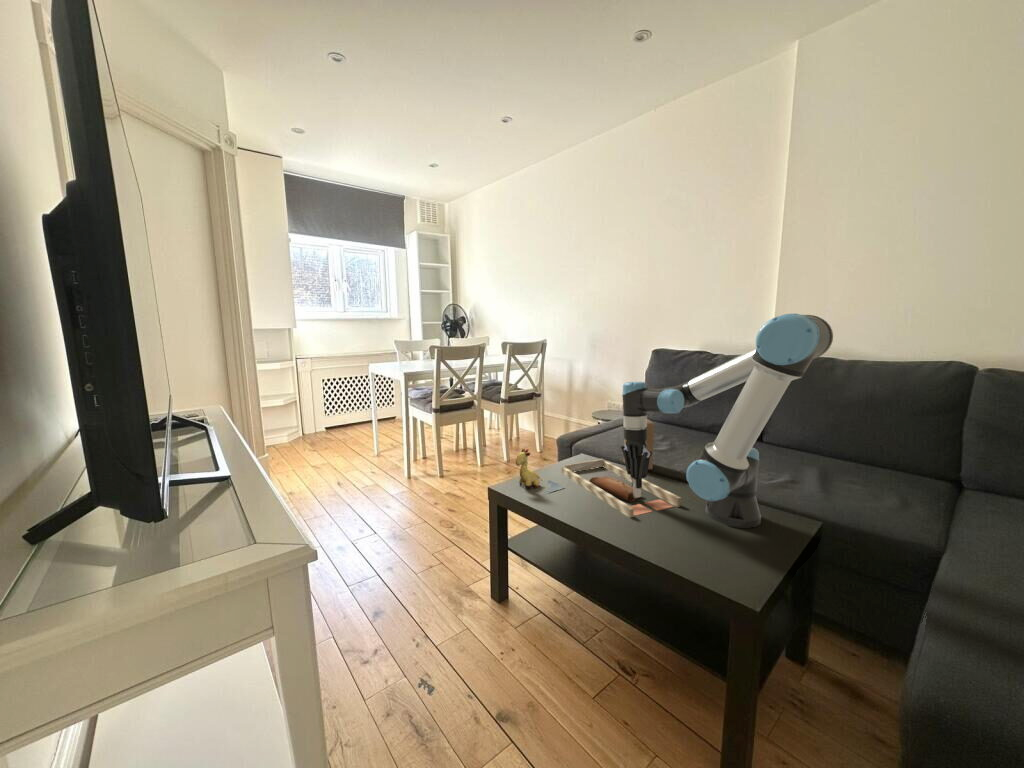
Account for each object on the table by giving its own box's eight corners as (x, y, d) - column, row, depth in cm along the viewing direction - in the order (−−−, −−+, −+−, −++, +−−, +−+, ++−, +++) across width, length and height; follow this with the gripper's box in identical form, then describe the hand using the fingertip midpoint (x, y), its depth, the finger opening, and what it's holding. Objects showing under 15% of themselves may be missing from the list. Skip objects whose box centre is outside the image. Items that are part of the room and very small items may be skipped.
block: (653, 470, 165) (655, 423, 163) (628, 470, 166) (630, 423, 163) (645, 462, 175) (647, 417, 173) (622, 462, 176) (624, 417, 173)
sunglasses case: (644, 491, 139) (636, 481, 135) (634, 509, 136) (626, 499, 133) (604, 476, 153) (595, 466, 150) (594, 491, 151) (586, 482, 147)
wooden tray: (680, 506, 132) (681, 494, 131) (629, 518, 124) (629, 506, 123) (604, 467, 169) (605, 458, 169) (561, 474, 161) (561, 465, 160)
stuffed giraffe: (499, 488, 148) (499, 446, 146) (536, 477, 159) (537, 438, 157) (526, 503, 136) (526, 457, 134) (565, 490, 146) (565, 448, 144)
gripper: (657, 429, 130) (659, 500, 132) (631, 424, 142) (633, 489, 143) (639, 431, 127) (641, 504, 129) (614, 426, 139) (616, 493, 140)
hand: (637, 496), depth 136 cm, fingers closed
